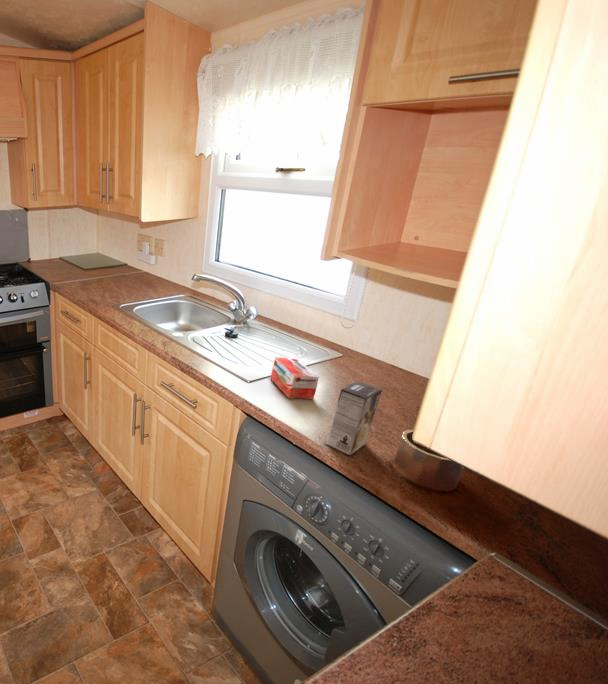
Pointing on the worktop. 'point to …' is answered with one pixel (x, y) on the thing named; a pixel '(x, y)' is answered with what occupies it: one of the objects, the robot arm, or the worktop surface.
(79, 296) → the worktop surface
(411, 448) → the pot
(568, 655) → the worktop surface
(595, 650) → the worktop surface
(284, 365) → the medicine box
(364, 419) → the coffee box
